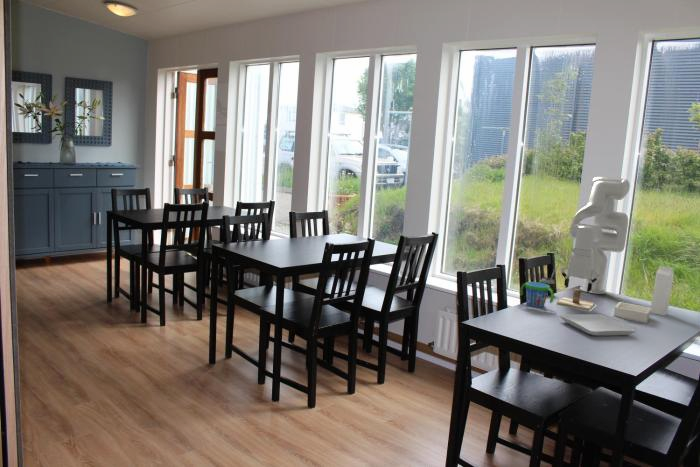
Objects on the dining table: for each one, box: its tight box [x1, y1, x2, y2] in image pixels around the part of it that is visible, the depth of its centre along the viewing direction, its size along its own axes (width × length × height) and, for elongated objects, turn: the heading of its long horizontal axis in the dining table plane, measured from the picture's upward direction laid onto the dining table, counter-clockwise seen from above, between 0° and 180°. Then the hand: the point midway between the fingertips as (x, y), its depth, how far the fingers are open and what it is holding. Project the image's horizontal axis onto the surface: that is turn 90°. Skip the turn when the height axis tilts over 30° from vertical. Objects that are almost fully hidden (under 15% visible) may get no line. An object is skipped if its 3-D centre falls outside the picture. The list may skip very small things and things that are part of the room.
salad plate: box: [559, 313, 637, 336], centre depth 238 cm, size 21×21×3 cm
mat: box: [553, 299, 597, 312], centre depth 273 cm, size 16×16×1 cm
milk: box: [650, 265, 675, 317], centre depth 270 cm, size 6×6×22 cm
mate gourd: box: [539, 264, 560, 296], centre depth 290 cm, size 8×8×15 cm
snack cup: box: [519, 281, 555, 308], centre depth 266 cm, size 16×10×10 cm
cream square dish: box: [613, 301, 651, 325], centre depth 260 cm, size 13×13×4 cm
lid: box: [555, 288, 596, 312], centre depth 273 cm, size 14×14×7 cm
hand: (577, 289), depth 272 cm, fingers open, 9 cm apart
